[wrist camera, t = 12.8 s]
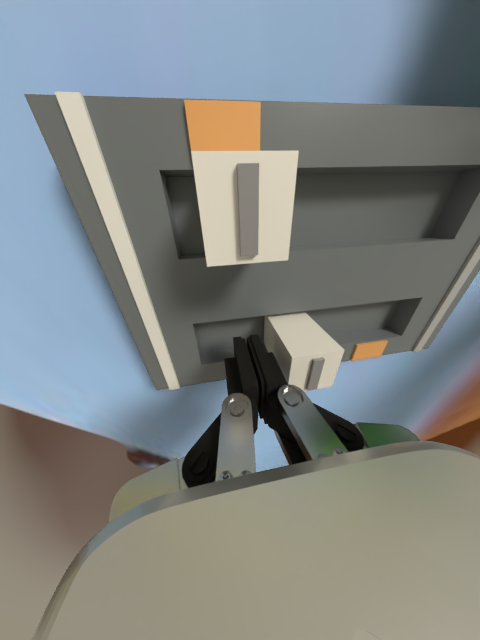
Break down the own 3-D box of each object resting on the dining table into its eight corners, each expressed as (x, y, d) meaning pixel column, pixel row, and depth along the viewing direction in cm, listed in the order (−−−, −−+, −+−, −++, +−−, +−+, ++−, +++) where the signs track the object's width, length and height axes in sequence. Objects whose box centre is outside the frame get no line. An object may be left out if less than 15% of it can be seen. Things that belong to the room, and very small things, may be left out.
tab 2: (300, 308, 14) (347, 352, 9) (296, 338, 15) (333, 389, 11) (264, 312, 13) (293, 360, 9) (263, 342, 15) (288, 397, 10)
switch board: (513, 131, 11) (593, 108, 9) (403, 333, 19) (430, 349, 17) (72, 127, 8) (18, 90, 6) (163, 367, 16) (155, 392, 14)
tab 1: (255, 183, 9) (302, 147, 5) (255, 243, 11) (290, 261, 6) (199, 185, 9) (190, 148, 4) (207, 246, 10) (206, 268, 6)
